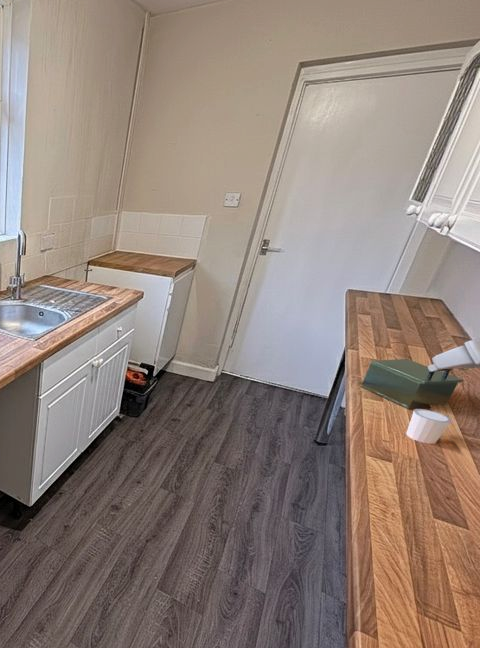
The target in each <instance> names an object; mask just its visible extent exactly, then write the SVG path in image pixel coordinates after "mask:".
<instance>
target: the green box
mask: <svg viewBox="0 0 480 648" xmlns="http://www.w3.org/2000/svg"><path fill="white" fill-rule="evenodd" d="M458 384H459V382H458V383H439V384H422V383H419V382H417V381H414V380H412V379H409V378H407V377H405V376H402V375H400V374H397V373H395V372H392V371H390V370H387V369H385V368H382V367H380V366H378V365H375V364H373V363H371V362H370V364H369V366H368V368H367V371H366V374H365V375H364V378H363V380H362V383H361V385H360V388H361V389H364V390H366V391H368V392H370V393H372V394H375V395H377V396H379V397H381V398H383V399H385V400H386V401H390V402H392V403H393V404H396V405H398V406H400V407H401V408H404V409H406V410H415V409H432V407H431V405H441V404H448V403H449V402H450V399H451V397H452V396H453V394H454V392H455V389H456V388H457V385H458Z"/></svg>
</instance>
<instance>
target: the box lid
mask: <svg viewBox="0 0 480 648" xmlns="http://www.w3.org/2000/svg"><path fill="white" fill-rule="evenodd" d="M371 363H373V364H375V365H378V366H380V367H382V368H385V369H387V370H390V371H392V372H395V373H397V374H400V375H402V376H405V377H407V378H409V379H412V380H414V381H417V382H419V383H422V384H439V383H458V384H459V383H463V382H464V379H462V378H460V377H457V376H455V375H451V374H450V372H451V371H453V370H454V369H441V370H439V371H434V372H431V371H429V369H428V366H427V365H424V364H421V363H418V362H416V361H413V360H411V359H408V358H403V359H402V358H400V359H398V358H397V359H379V360H378V359H377V360H371V362H370V364H371Z"/></svg>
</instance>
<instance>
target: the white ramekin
mask: <svg viewBox="0 0 480 648" xmlns="http://www.w3.org/2000/svg"><path fill="white" fill-rule="evenodd" d="M451 423H452V419H451V418H450V417H449V416H447V415H445V414H443V413H440V412H438V411H434V410H430V409H426V408H422V409H413V412H412V415H411V417H410V421H409V424H408V427H407V430H406V432H405V435H406V436H407V437H408V438H409V439H411V440H414V441H416V442H419V443H423V444H427V445H434V444H437V442H438V440H439V439H440V437H441V436H442V435H443V434H444V432H445V431H446V429H447V428H448V427H449V425H450V424H451Z"/></svg>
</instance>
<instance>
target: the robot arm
mask: <svg viewBox="0 0 480 648" xmlns="http://www.w3.org/2000/svg"><path fill="white" fill-rule="evenodd" d="M431 360H432V362H433V364H430V365H428V366H427V367H428V369H429V371H431V372H434V371H439V370H441V369H453V370H455V369H456V370H459V371H467V370H470V369H475V368H478V369H479V368H480V338H475V339H471V340H467V341H465V342H464V345H460V346H457V347H454V348H452V349H448V350H446V351H444V352H443V351H442V352H441V353H439V354H436V355H434V356H433V357H432V359H431Z"/></svg>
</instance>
